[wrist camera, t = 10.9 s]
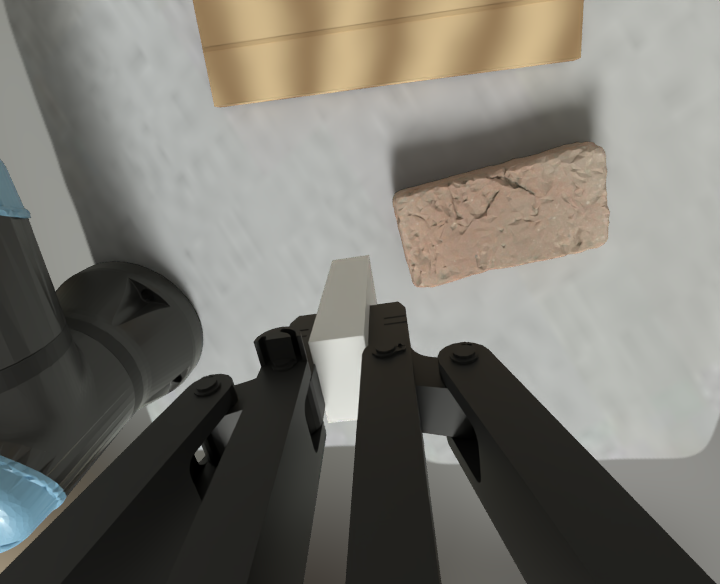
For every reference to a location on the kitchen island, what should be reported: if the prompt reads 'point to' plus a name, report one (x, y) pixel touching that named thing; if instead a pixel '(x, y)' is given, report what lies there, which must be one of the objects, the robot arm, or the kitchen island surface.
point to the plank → (374, 42)
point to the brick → (505, 214)
